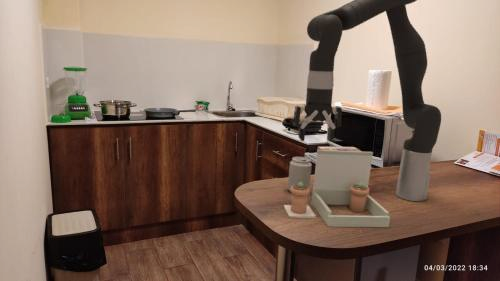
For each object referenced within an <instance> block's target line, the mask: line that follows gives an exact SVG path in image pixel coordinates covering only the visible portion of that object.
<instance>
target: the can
mask: <svg viewBox="0 0 500 281" xmlns="http://www.w3.org/2000/svg"><path fill="white" fill-rule="evenodd" d="M291 159H292V160H291V161H289V170H288V182H287V189H288V190H289V191H290V187H291V186H292V185H297V184H298V183H299V182H302V183H303V185H305V186H308V187H309V188H310V185H311V184H310V183H311V175H312V163H311V159H309V158H308V157H305V156H293V157H292V158H291Z"/></svg>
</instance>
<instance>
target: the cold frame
mask: <svg viewBox="0 0 500 281" xmlns="http://www.w3.org/2000/svg"><path fill="white" fill-rule="evenodd" d="M373 155H374V152H373V151H362V152H360V151H332V150H316V158H315V170H314V178H313V188H312V196H311V204H312V206H313V207H314V208H315V210H316V212H318V215H319V216H320V217H321V219H322V220H323V221H324V223H325V224H326V226H327V227H329V228H331V227H336V228H341V227H344V228H346V227H347V228H389V227H390V224H391V223H390V220H391V217H390V212H389V211H388V210H387V209H385V207H383V206H382V205H381V204H380V203H379V202H378V201H377V200H375V199H374V198H373V197H372V196H371V195H370V194H369V195H367V199H366V205H365V210H367V211H368V212H370V215H347V214H346V215H345V214H343V215H342V214H341V215H340V214H339V215H338V214H336V215H334V214H333V213H332V212H333V211H332V210H331V208H330V207H329V206H328V205H334V206H335V205H338V206H341V205H343V206H349V205H350V198H351V192H350V186H351V185H357V184H358V183H359V182H361V183H363V186H365V187H368V188H369V182H370V176H371V171H372V170H371V168H372V161H373Z"/></svg>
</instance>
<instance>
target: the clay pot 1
mask: <svg viewBox="0 0 500 281" xmlns="http://www.w3.org/2000/svg"><path fill="white" fill-rule="evenodd" d="M289 192H290V194H291V197H290V205H291V209H290V210H291V211H292V212H294V213H298V214H303V213H306V210H307V205H308V196H309V195H310V193H311V188H310V186H309V187H308V186H305V185H303V183H302V182H299V183H298V184H297V185H292V186H291V187H290V190H289Z"/></svg>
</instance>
